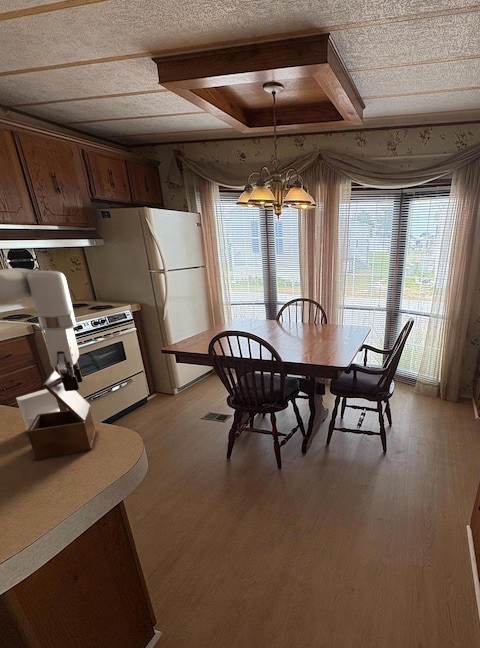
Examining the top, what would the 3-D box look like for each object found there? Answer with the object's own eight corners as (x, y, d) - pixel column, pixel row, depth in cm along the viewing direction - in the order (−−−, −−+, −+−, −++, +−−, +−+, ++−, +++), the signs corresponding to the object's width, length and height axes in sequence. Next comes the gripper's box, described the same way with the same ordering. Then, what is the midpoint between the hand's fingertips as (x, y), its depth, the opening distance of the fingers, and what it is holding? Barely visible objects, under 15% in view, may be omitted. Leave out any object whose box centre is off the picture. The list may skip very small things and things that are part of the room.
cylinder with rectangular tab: (54, 419, 113) (44, 385, 108) (70, 426, 109) (60, 392, 105) (22, 431, 105) (9, 395, 101) (37, 439, 102) (25, 402, 97)
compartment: (36, 459, 92) (26, 431, 89) (45, 440, 101) (37, 414, 98) (91, 449, 98) (83, 422, 94) (95, 432, 106) (89, 407, 103)
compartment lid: (42, 385, 87) (62, 374, 88) (51, 371, 96) (69, 362, 97) (82, 422, 94) (99, 411, 95) (87, 406, 103) (103, 397, 104)
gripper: (47, 315, 93) (64, 377, 100) (29, 329, 79) (50, 400, 86) (80, 314, 96) (94, 374, 103) (69, 328, 82) (85, 396, 89)
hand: (74, 385), depth 95 cm, fingers closed on compartment lid, 5 cm apart
